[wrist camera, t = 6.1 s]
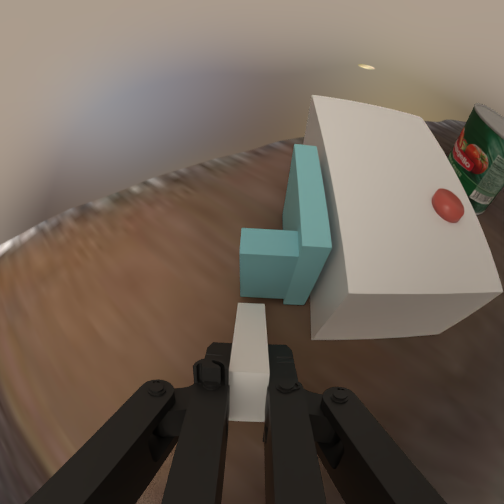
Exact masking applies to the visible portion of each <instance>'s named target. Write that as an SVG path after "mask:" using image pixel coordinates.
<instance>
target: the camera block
mask: <svg viewBox="0 0 504 504" xmlns="http://www.w3.org/2000/svg"><path fill="white" fill-rule="evenodd" d="M303 145H310V146H317V151H318V157H319V162H320V168H321V174H322V179H323V185H324V192H325V198H326V205H327V212H328V219H329V226H330V234H331V242H332V249H331V251H330V254H329V256H328V258H327V260H326V262H325V264H324V266H323V268H322V270H321V272H320V274H319V277H318V279H317V281H316V283H315V285H314V287H313V289H312V291H311V293H310V313H311V340H355V339H381V338H399V337H413V336H425V335H436V334H440V333H441V332H443V331H445V330H447V329H448V328H450V327H452V326H453V325H455V324H456V323H458V322H460V321H461V320H463V319H464V318H466V317H468V316H469V315H471V314H472V313H474V312H475V311H477V310H478V309H480V308H481V307H483V306H484V305H486V304H487V303H488V302H490V301H491V300H493V299H494V298H495V297H497V296H498V295H500V294H501V293H502V292H503V289H502V286H501V282H500V279H499V276H498V272H497V269H496V266H495V263H494V260H493V257H492V254H491V251H490V249H489V246H488V243H487V241H486V238H485V235H484V233H483V230H482V228H481V225H480V223H479V221H478V218H477V216H476V214H475V211H474V209H473V207H472V205H471V203H470V201H469V198H468V196H467V194H466V192H465V190H464V188H463V186H462V184H461V182H460V180H459V178H458V177H457V175H456V173H455V171H454V169H453V167H452V166H451V164H450V162H449V160H448V158H447V157H446V155H445V153H444V152H443V150H442V148H441V147H440V145H439V143H438V142H437V140H436V139H435V137H434V135H433V134H432V132H431V131H430V129H429V128H428V126H427V125H426V123H425V122H424V120H423V119H422V118H421V117H419V116H416V115H412V114H409V113H405V112H401V111H397V110H393V109H389V108H384V107H380V106H375V105H371V104H366V103H360V102H355V101H350V100H343V99H338V98H332V97H325V96H317V95H312V97H311V103H310V109H309V115H308V120H307V126H306V132H305V137H304V143H303Z"/></svg>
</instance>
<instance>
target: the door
mask: <svg viewBox="0 0 504 504" xmlns="http://www.w3.org/2000/svg"><path fill="white" fill-rule="evenodd" d="M331 249H332V242H331V234H330V226H329V219H328V212H327V205H326V198H325V192H324V185H323V179H322V174H321V168H320V162H319V157H318V151H317V146H310V145H299V144H294V149H293V155H292V161H291V168H290V174H289V180H288V186H287V192H286V197H285V203H284V209H283V230H271V229H253V228H242V230H241V242H240V297H257V298H279V299H283V304H291V305H305V303H306V301H307V299H308V297H309V295H310V293H311V291H312V289H313V287H314V285H315V283H316V281H317V279H318V277H319V274H320V272H321V270H322V268H323V266H324V264H325V262H326V260H327V258H328V256H329V254H330V251H331Z"/></svg>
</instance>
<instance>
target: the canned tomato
mask: <svg viewBox="0 0 504 504" xmlns="http://www.w3.org/2000/svg"><path fill="white" fill-rule="evenodd" d="M448 160H449V162H450V164H451V166H452V167H453V169H454V171H455V173H456V175H457V177H458V178H459V180H460V182H461V184H462V186H463V188H464V190H465V192H466V194H467V196H468V198H469V201H470V203H471V205H472V207H473V209H474V211H475V214H476V215H480V214H482V213H483V212H484V211H485V209H486V208H487V207H488V205H489V204H490V203H491V202H492V200H493V199H494V198H495V196H496V195H497V194H498V193H499V191H500V190H501V189H502V187H503V186H504V117H502V116H501V115H500V114H498V113H497V112H496V111H494V110H493V109H491V108H489V107H487V106H485V105H483V104H480V103H476V104H475V105H474V108H473V110H472V112H471V114H470V116H469V118H468V120H467V122H466V124H465V126H464V128H463V130H462V132H461V134H460V136H459V137H458V140H457V141H456V143H455V145H454V146H453V149H452V150H451V152H450V154H449V156H448Z"/></svg>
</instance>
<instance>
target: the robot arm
mask: <svg viewBox="0 0 504 504" xmlns="http://www.w3.org/2000/svg"><path fill="white" fill-rule="evenodd" d="M193 374H194V384H193V385H191V386H189V387H185V388H176V389H174V388H173V386H172V385H171V384H170V383H169V382H167V381H164V380H151V381H148V382H146V383H144V384H143V385H142V386H141V387H140V388H139V389H138V390H137V391H136V392H135V393H134V394H133V395H132V396H131V397H130V398H129V399H128V400H127V401H126V402H125V403H124V404H123V405H122V406H121V407H120V409H119V410H118V411H117V412H116V413H115V414H114V415H113V416H112V417H111V418H110V419H109V420H108V421H107V422H106V423H105V424H104V425H103V426H102V427H101V428H100V429H99V430H98V431H97V432H96V433H95V434H94V435H93V436H92V437H91V438H90V439H89V440H88V441H87V442H86V443H85V444H84V445H83V446H82V447H81V448H80V449H79V450H78V451H77V452H76V453H75V454H74V455H73V456H72V457H71V458H70V459H69V460H68V461H67V462H66V463H65V464H64V465H63V466H62V467H61V468H60V469H59V470H58V471H57V472H56V473H55V474H54V475H53V476H52V477H51V478H50V479H49V480H48V481H47V482H46V483H45V484H44V485H43V486H42V487H41V488H40V489H39V490H38V491H37V492H36V493H35V494H34V495H33V496H32V497H31V498H30V499H29V500H28V501H27V502H26V503H25V504H136V502H137V501H138V499H139V498H140V496H141V495H142V494H143V492H144V491H145V489H146V488H147V486H148V485H149V483H150V482H151V481H152V479H153V478H154V476H155V475H156V473H157V472H158V470H159V469H160V467H161V466H162V464H163V463H164V461H165V460H166V458H167V457H168V455H169V454H170V452H171V451H172V449H173V448H174V446H175V445H176V443H177V442H178V443H177V446H176V450H175V454H174V457H173V461H172V465H171V469H170V472H169V476H168V480H167V484H166V488H165V491H164V495H163V499H162V503H161V504H221V500H222V489H223V479H224V468H225V458H226V448H227V438H228V420H231V421H249V422H264V421H265V427H264V435H263V442H264V451H265V495H266V504H326V498H325V493H324V488H323V483H322V477H321V472H320V467H319V462H318V457H317V454H318V456H319V458H320V459H321V461H322V463H323V465H324V467H325V468H326V470H327V472H328V474H329V475H330V477H331V479H332V481H333V482H334V484H335V486H336V488H337V489H338V491H339V493H340V495H341V496H342V498H343V500H344V501H345V503H346V504H447V503H446V502H445V501H444V499H443V498H442V497H441V496H440V495H439V494H438V492H437V491H436V490H435V489H434V488H433V487H432V485H431V484H430V483H429V482H428V481H427V480H426V478H425V477H424V476H423V475H422V474H421V473H420V471H419V470H418V469H417V468H416V467H415V465H414V464H413V463H412V462H411V461H410V460H409V458H408V457H407V456H406V455H405V454H404V452H403V451H402V450H401V449H400V448H399V447H398V445H397V444H396V443H395V442H394V441H393V439H392V438H391V437H390V436H389V435H388V433H387V432H386V431H385V430H384V429H383V427H382V426H381V425H380V424H379V423H378V421H377V420H376V419H375V418H374V417H373V415H372V414H371V413H370V412H369V411H368V409H367V408H366V407H365V406H364V405H363V403H362V402H361V401H360V400H359V399H358V397H357V396H356V395H355V394H354V393H353V392H352V391H351V390H349V389H346V388H342V387H332V388H329V389H327V390H326V391H325V392H324V393H323V395H322V394H317V393H312V392H309V391H307V390H305V389H303V386H302V384H301V383H300V382H298V379H297V374H296V369H295V364H294V359H293V354H292V350H291V349H290V348H289V347H288V346H287V345H269V344H268V342H267V329H266V316H265V304H254V303H238V307H237V315H236V322H235V329H234V336H233V344H232V343H217V342H213V343H212V344H211V345H210V346H209V347H208V348H207V352H206V355H205V359H201V360H199V361H197V362H196V363H195V364H194V365H193Z"/></svg>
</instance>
